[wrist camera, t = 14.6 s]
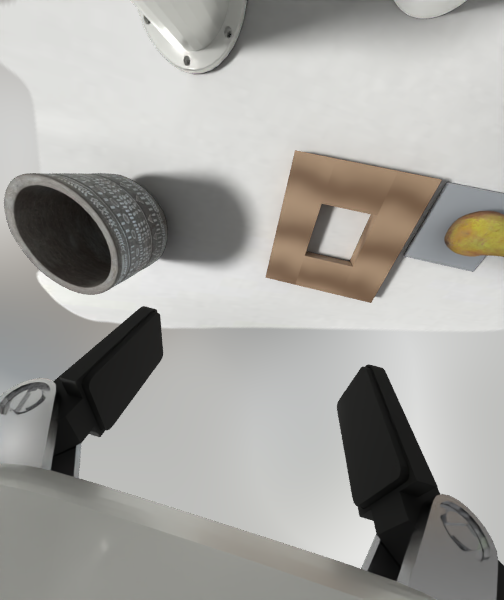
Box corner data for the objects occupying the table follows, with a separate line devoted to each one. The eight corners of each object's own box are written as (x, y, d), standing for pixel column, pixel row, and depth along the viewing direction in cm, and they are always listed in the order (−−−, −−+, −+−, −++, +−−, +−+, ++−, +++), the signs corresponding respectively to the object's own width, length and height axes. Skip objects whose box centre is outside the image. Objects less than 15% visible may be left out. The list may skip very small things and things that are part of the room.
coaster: (446, 182, 27) (449, 182, 27) (527, 198, 26) (532, 199, 26) (403, 255, 32) (405, 256, 32) (470, 270, 32) (472, 271, 31)
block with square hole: (295, 152, 28) (295, 150, 26) (430, 179, 27) (441, 179, 25) (267, 271, 38) (265, 277, 36) (366, 295, 37) (370, 302, 35)
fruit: (438, 213, 28) (517, 235, 18) (492, 203, 27) (611, 219, 17) (433, 253, 31) (499, 290, 21) (481, 245, 29) (579, 282, 19)
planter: (149, 271, 43) (87, 311, 30) (90, 211, 38) (-11, 229, 26) (194, 229, 36) (141, 258, 24) (130, 151, 32) (23, 136, 19)
